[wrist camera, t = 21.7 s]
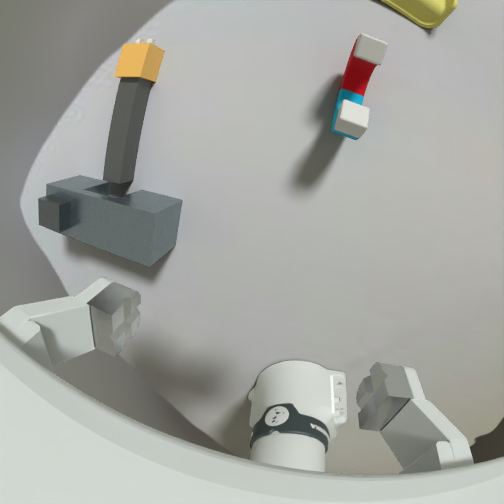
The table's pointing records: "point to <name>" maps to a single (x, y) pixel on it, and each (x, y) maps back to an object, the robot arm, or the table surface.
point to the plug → (130, 107)
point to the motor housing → (112, 218)
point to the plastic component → (424, 10)
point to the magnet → (357, 87)
